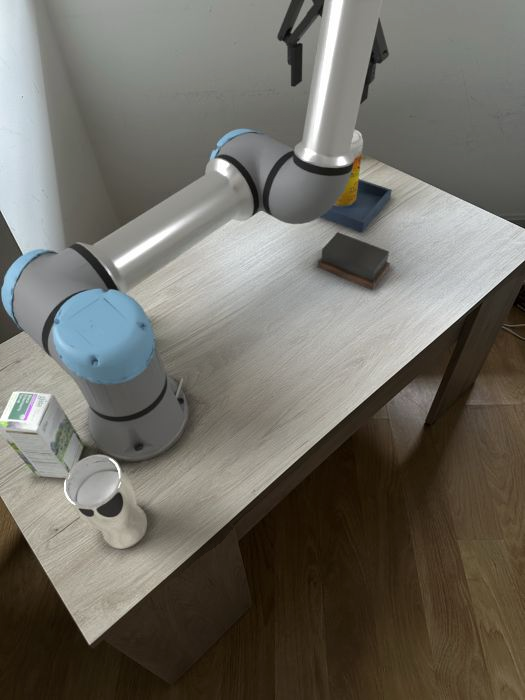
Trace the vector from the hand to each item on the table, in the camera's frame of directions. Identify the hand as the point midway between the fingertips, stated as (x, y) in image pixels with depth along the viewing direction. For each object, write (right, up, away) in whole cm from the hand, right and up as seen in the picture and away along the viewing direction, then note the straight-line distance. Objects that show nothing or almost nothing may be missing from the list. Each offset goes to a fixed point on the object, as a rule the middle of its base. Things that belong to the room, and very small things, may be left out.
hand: (328, 92), depth 94 cm
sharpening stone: (+6, -31, +7) cm, 32 cm away
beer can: (+5, -14, +20) cm, 25 cm away
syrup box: (-42, -64, -16) cm, 78 cm away
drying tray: (+7, -16, +19) cm, 25 cm away
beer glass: (-31, -71, -23) cm, 81 cm away
